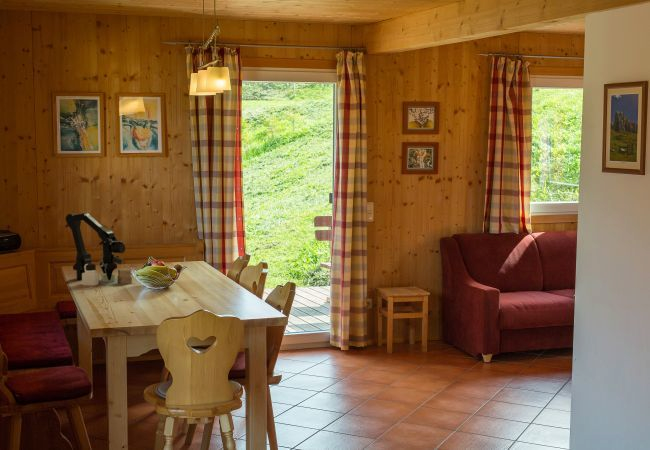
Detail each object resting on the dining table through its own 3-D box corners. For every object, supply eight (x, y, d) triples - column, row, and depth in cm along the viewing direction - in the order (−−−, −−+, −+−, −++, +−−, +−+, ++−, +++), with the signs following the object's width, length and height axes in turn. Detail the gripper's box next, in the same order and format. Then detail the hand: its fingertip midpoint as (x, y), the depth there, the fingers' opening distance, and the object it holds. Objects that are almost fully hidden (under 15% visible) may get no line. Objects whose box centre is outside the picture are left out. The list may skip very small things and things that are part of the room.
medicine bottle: (98, 284, 482) (98, 263, 481) (94, 286, 475) (93, 265, 474) (86, 283, 483) (86, 263, 482) (81, 286, 476) (81, 264, 475)
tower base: (117, 283, 483) (117, 276, 483) (127, 282, 487) (127, 275, 487) (121, 284, 479) (121, 277, 478) (131, 283, 482) (131, 276, 482)
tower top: (118, 276, 484) (118, 269, 484) (128, 275, 486) (128, 268, 486) (120, 277, 479) (119, 270, 478) (130, 276, 481) (130, 269, 481)
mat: (94, 281, 492) (94, 280, 492) (123, 279, 500) (123, 278, 500) (105, 287, 472) (105, 286, 472) (135, 284, 480) (135, 284, 480)
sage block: (101, 280, 492) (101, 273, 492) (111, 279, 495) (111, 273, 495) (104, 282, 487) (104, 275, 487) (114, 281, 490) (114, 274, 490)
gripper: (125, 253, 486) (126, 280, 487) (117, 250, 502) (117, 276, 503) (106, 254, 480) (106, 281, 482) (98, 251, 496) (98, 277, 498)
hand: (108, 279), depth 491 cm, fingers closed on sage block, 6 cm apart
